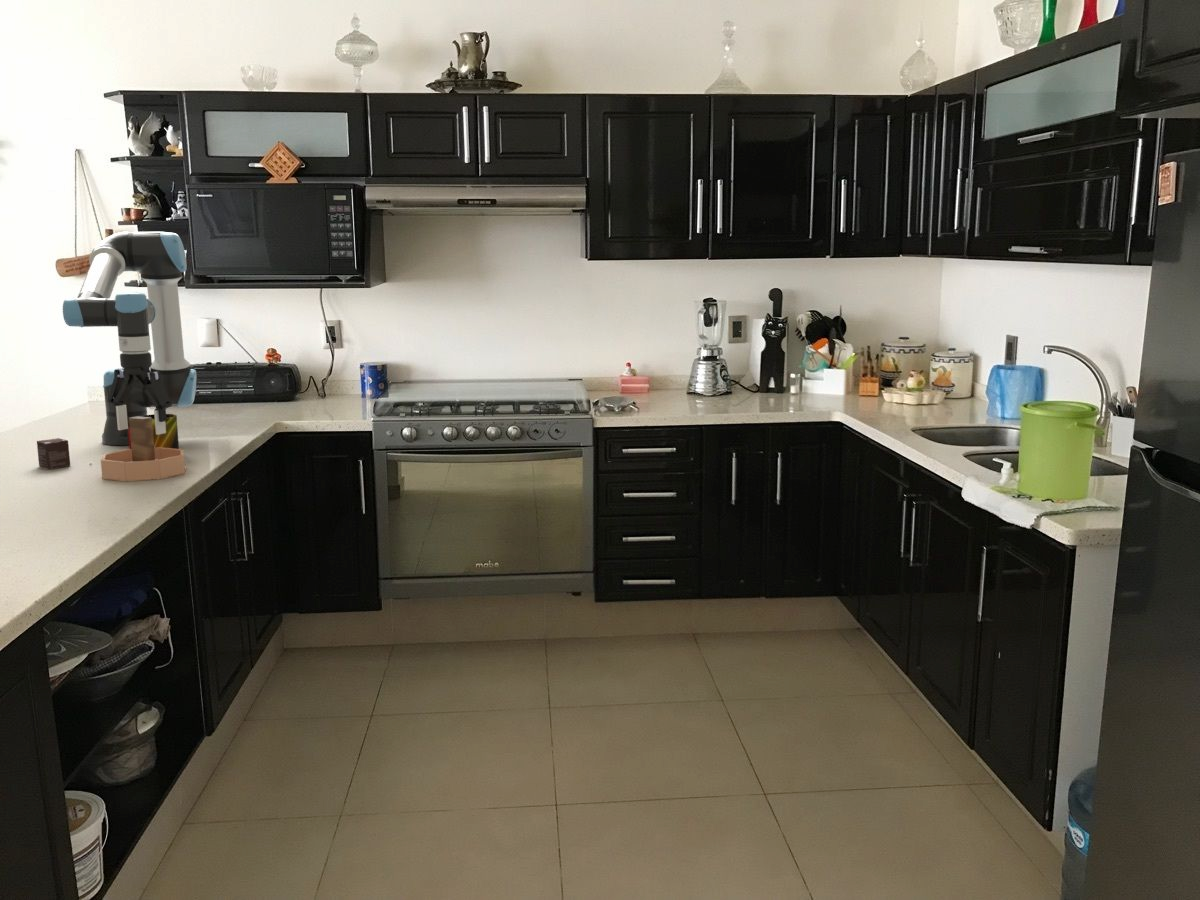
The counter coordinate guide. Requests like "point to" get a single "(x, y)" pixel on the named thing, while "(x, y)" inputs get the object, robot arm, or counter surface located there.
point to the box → (53, 453)
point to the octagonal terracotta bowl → (143, 465)
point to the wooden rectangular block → (142, 438)
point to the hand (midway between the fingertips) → (141, 431)
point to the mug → (167, 438)
